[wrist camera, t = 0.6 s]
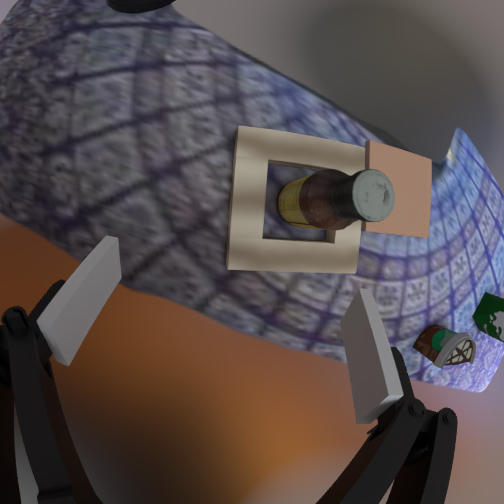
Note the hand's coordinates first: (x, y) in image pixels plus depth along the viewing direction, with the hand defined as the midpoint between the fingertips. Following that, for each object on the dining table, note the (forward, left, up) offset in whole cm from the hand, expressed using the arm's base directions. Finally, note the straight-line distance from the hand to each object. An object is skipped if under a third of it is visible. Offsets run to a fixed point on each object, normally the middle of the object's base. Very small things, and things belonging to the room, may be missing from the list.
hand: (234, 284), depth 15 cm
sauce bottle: (-6, +11, -23) cm, 26 cm away
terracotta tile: (-10, +29, -23) cm, 38 cm away
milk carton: (+13, +64, -23) cm, 69 cm away
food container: (+16, +44, -23) cm, 52 cm away
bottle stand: (-6, +11, -23) cm, 26 cm away
